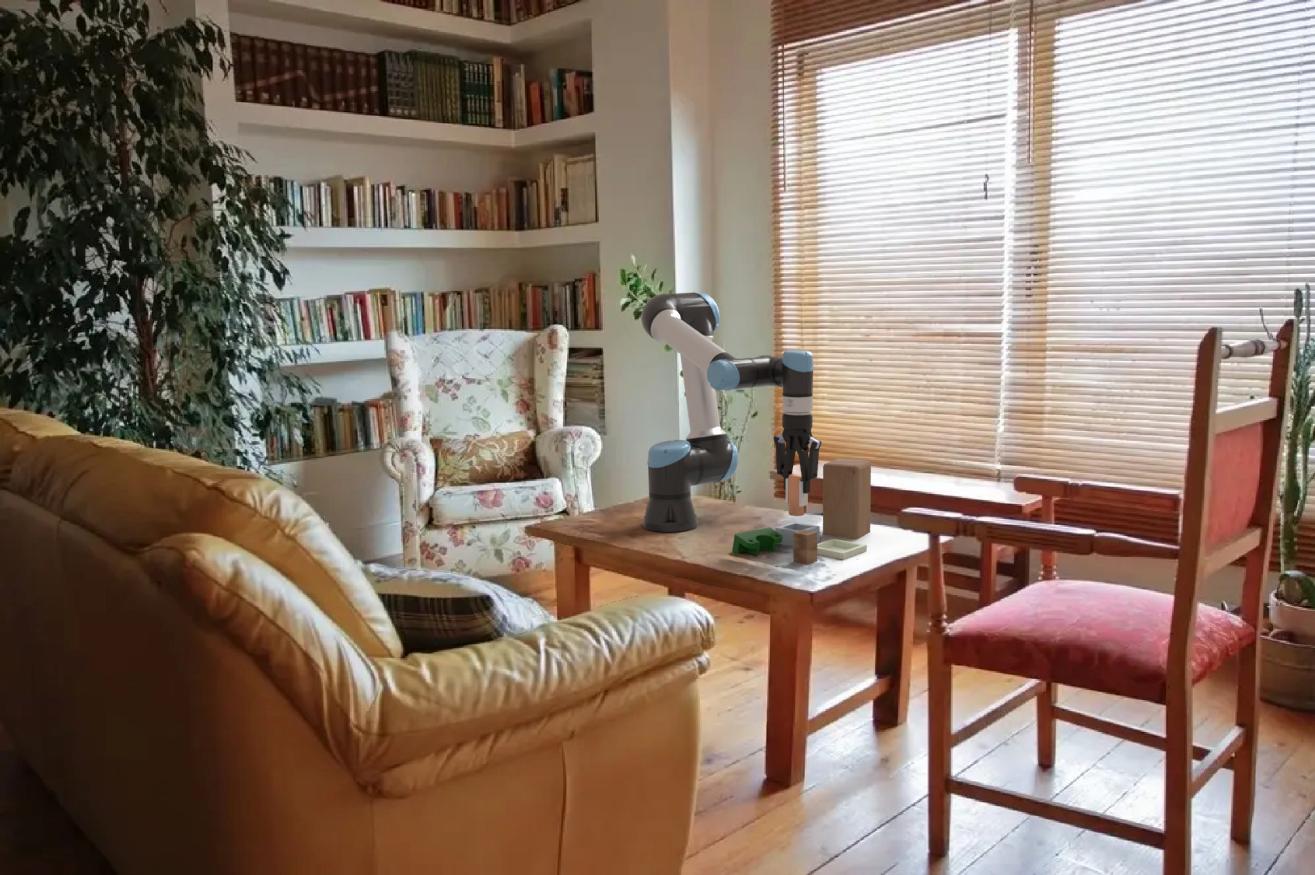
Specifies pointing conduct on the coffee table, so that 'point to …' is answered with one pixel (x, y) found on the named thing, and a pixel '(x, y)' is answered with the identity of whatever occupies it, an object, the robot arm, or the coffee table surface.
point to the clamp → (756, 541)
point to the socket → (793, 527)
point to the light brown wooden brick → (805, 547)
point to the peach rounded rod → (794, 496)
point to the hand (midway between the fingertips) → (796, 504)
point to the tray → (840, 548)
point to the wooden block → (846, 498)
